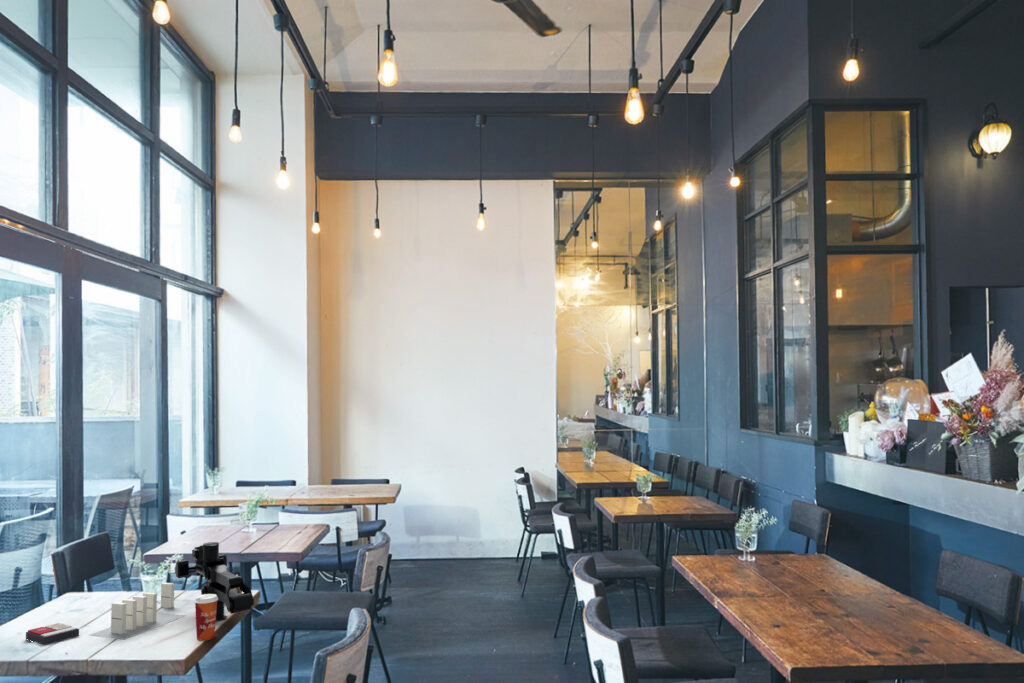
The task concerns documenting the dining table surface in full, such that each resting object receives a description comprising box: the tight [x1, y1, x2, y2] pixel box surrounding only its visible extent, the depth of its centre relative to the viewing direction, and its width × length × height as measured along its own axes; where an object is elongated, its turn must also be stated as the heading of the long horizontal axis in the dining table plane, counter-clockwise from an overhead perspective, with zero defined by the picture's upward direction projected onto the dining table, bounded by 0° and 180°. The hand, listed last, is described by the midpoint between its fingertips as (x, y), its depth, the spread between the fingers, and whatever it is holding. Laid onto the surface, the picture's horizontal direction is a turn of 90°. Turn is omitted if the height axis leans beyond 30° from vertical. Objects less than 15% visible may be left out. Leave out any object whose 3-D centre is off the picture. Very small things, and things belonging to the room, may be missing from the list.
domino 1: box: [110, 601, 126, 634], centre depth 253 cm, size 2×5×10 cm, turn 71°
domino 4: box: [142, 591, 158, 622], centre depth 266 cm, size 2×5×10 cm, turn 71°
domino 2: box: [121, 598, 137, 630], centre depth 257 cm, size 2×5×10 cm, turn 71°
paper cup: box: [193, 594, 218, 642], centre depth 249 cm, size 8×8×14 cm
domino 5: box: [160, 582, 175, 609], centre depth 284 cm, size 2×5×10 cm, turn 71°
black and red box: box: [25, 622, 80, 645], centre depth 250 cm, size 11×4×15 cm
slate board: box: [89, 612, 186, 641], centre depth 261 cm, size 28×16×1 cm, turn 161°
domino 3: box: [132, 595, 147, 626], centre depth 261 cm, size 2×5×10 cm, turn 71°
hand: (195, 562), depth 291 cm, fingers open, 9 cm apart
